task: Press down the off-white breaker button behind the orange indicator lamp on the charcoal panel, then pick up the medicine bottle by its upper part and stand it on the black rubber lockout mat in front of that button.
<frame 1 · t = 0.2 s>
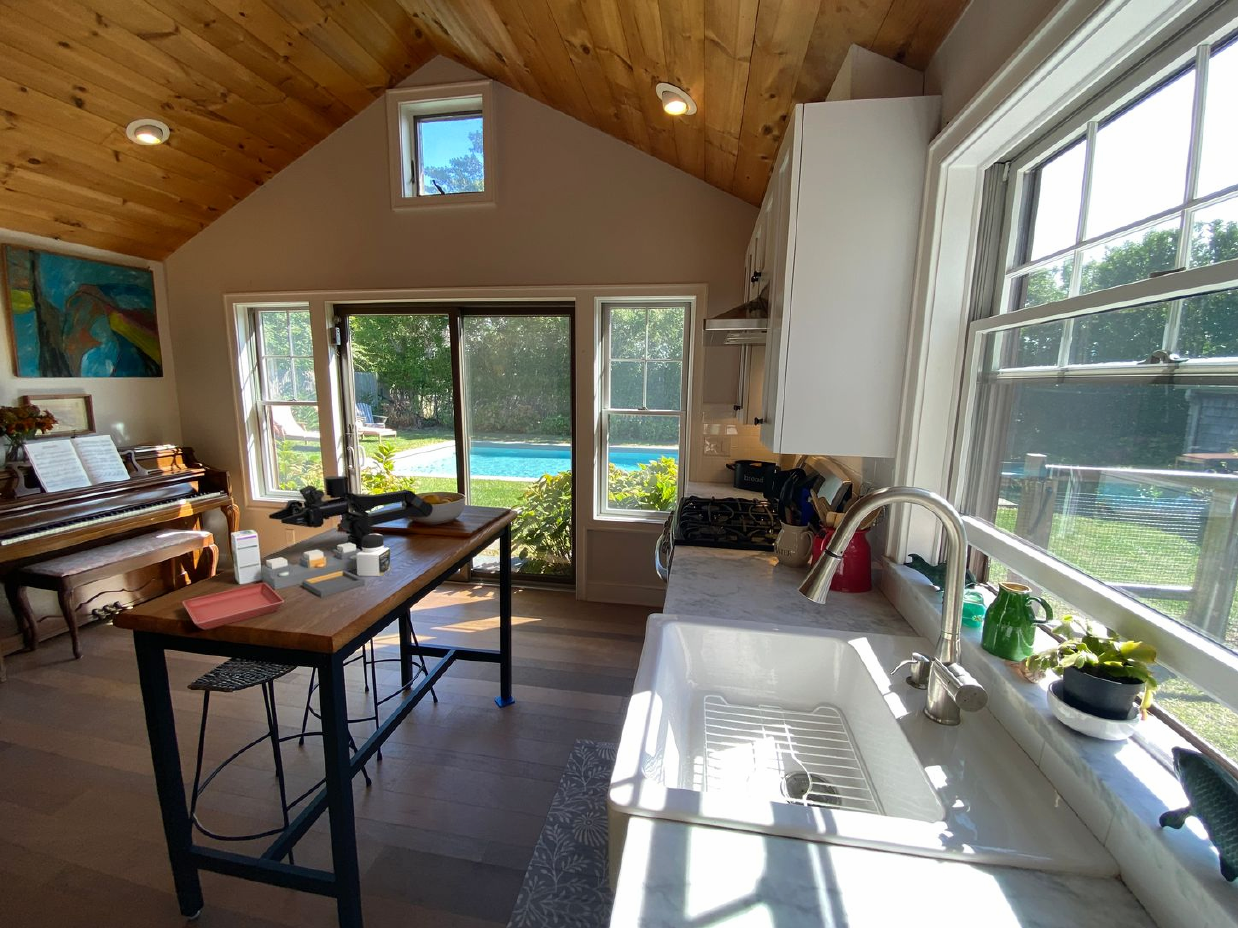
hand: (275, 519, 159), 17 cm above the table, tool horizontal, fingers open, 9 cm apart
syrup box: (248, 580, 153), on the table
breaker 1: (277, 564, 152), point 5 cm above the table, slide at 0.0 cm
breaker 2: (346, 548, 167), point 5 cm above the table, slide at 0.0 cm
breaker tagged: (313, 555, 160), point 5 cm above the table, slide at 0.0 cm
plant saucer: (234, 613, 132), on the table
breaker panel: (316, 573, 159), on the table
medicine bottle: (374, 573, 162), on the table
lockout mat: (333, 585, 151), on the table
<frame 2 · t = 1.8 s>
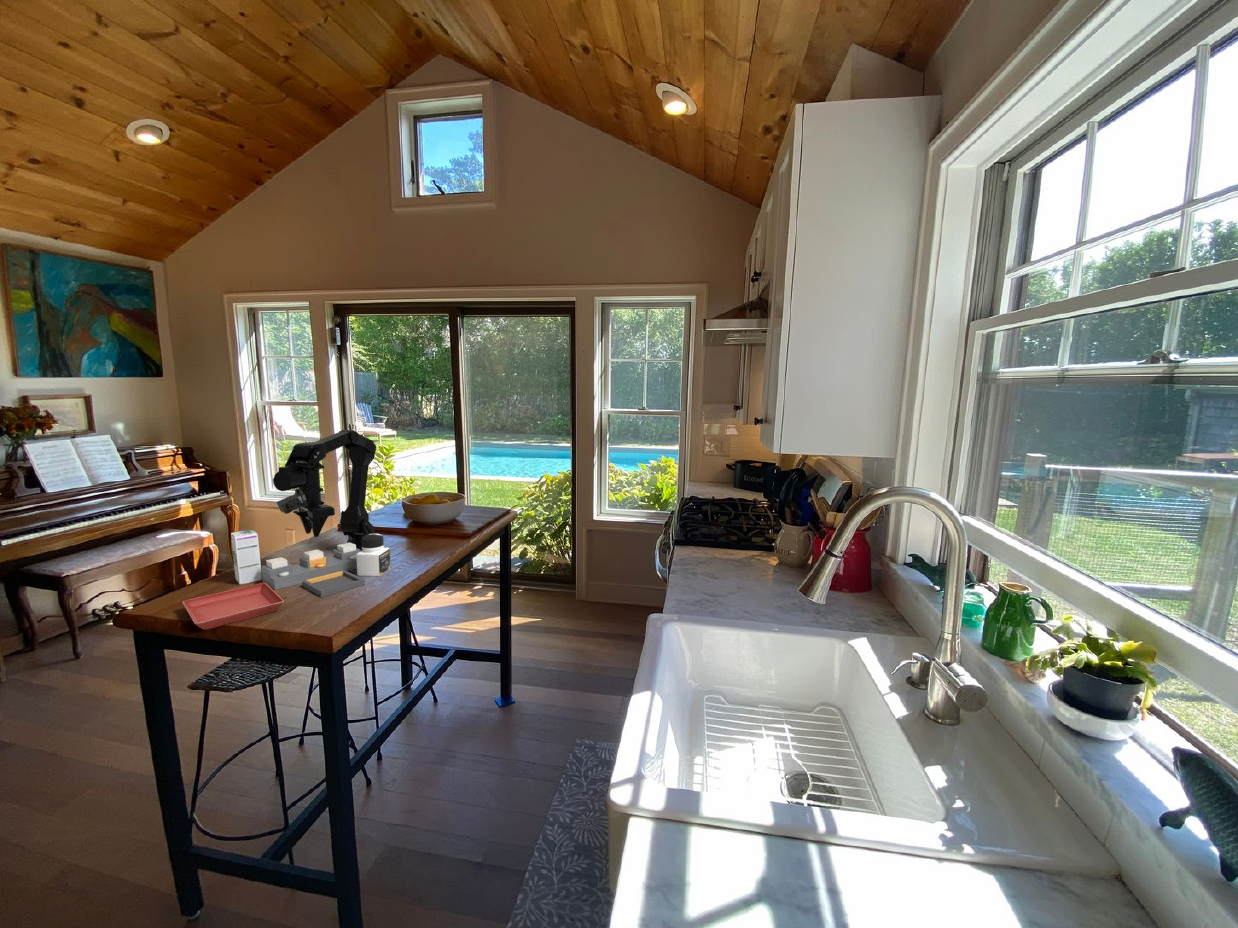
hand: (312, 535, 159), 12 cm above the table, tool pointing down, fingers open, 5 cm apart
nothing on the table moved.
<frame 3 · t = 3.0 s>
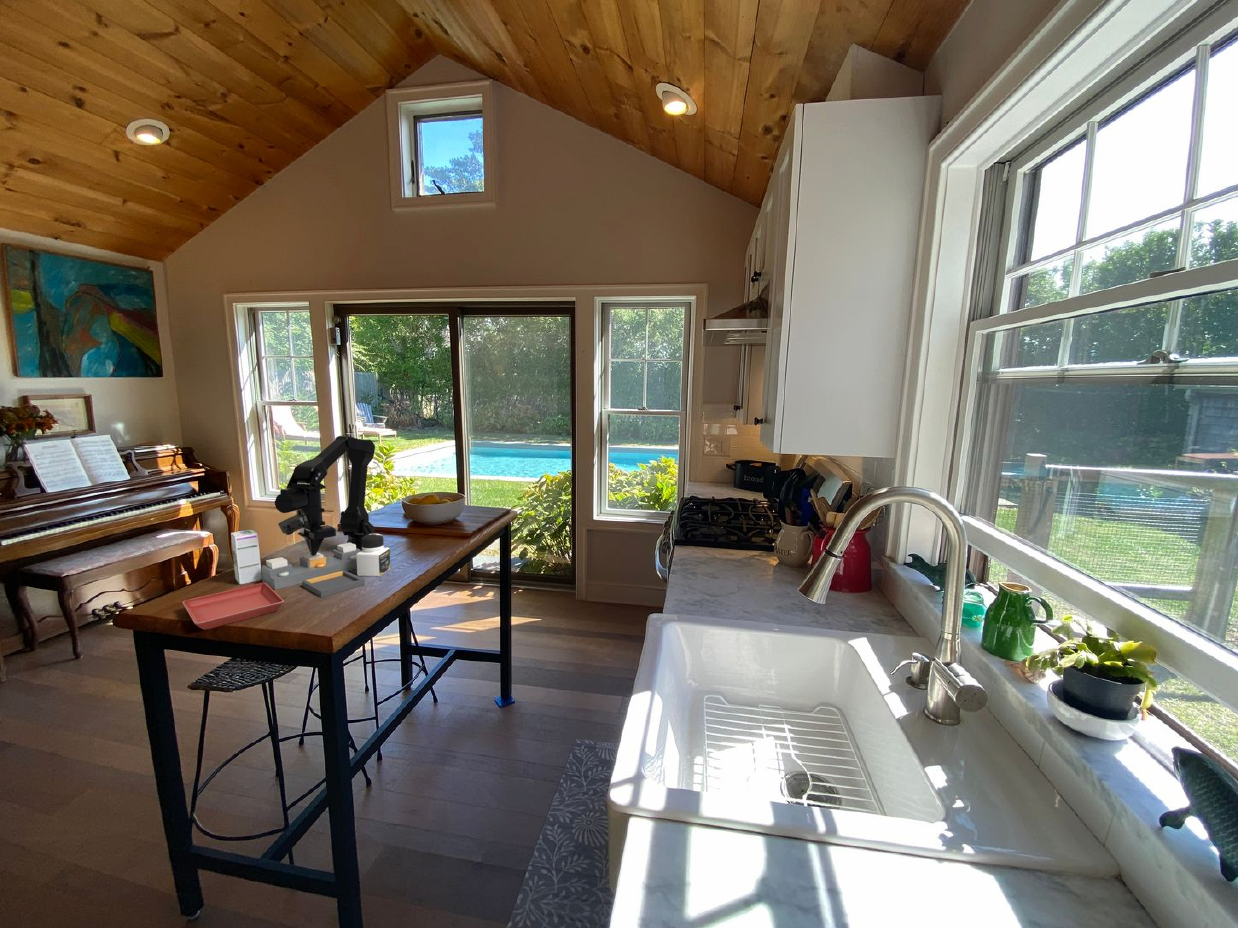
hand: (313, 555, 160), 6 cm above the table, tool pointing down, fingers closed, pressing on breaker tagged
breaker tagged: (313, 558, 160), point 4 cm above the table, slide at 1.0 cm, touching gripper
everything else where it was.
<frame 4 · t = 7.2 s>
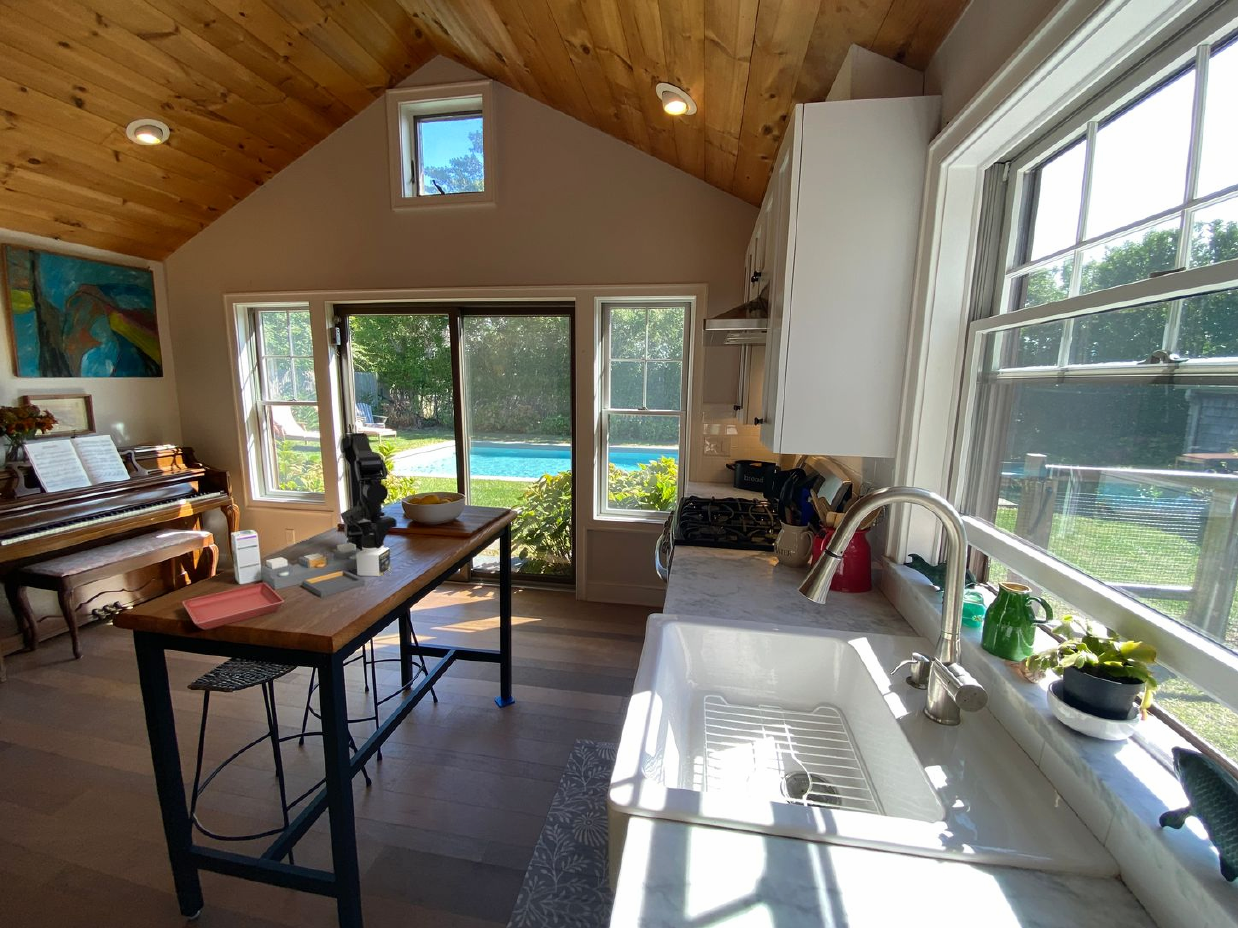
hand: (372, 546, 161), 9 cm above the table, tool pointing down, fingers closed on medicine bottle, 6 cm apart
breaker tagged: (313, 559, 160), point 4 cm above the table, slide at 1.2 cm, touching breaker panel
medicine bottle: (374, 572, 162), on the table, touching gripper
everything else where it was.
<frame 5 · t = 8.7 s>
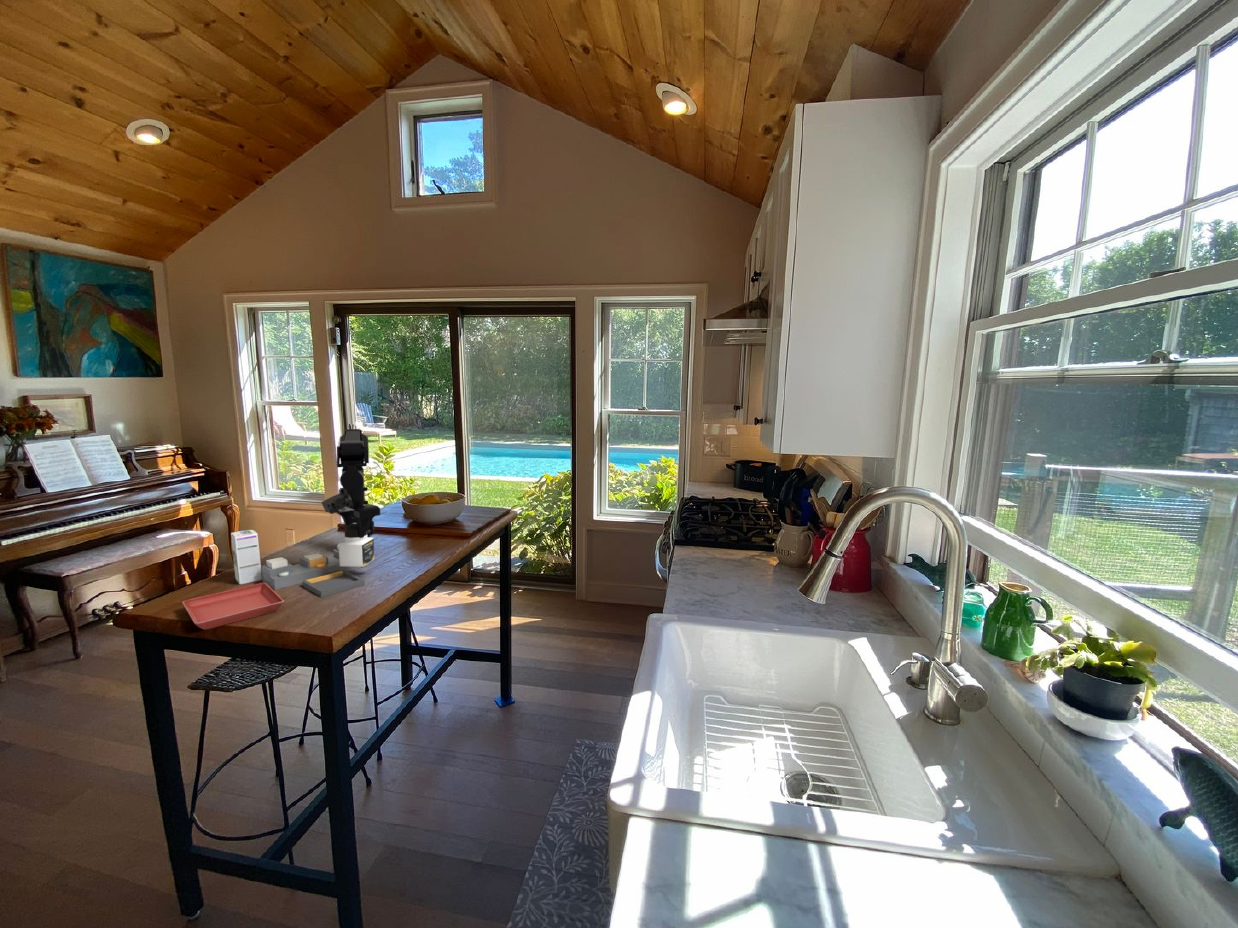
hand: (356, 535, 155), 13 cm above the table, tool pointing down, fingers closed on medicine bottle, 6 cm apart
medicine bottle: (357, 563, 156), point 4 cm above the table, touching gripper
everything else where it was.
when the fingers open (10 cm above the table, at t = 10.3 s): medicine bottle drops 1 cm, resting on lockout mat.
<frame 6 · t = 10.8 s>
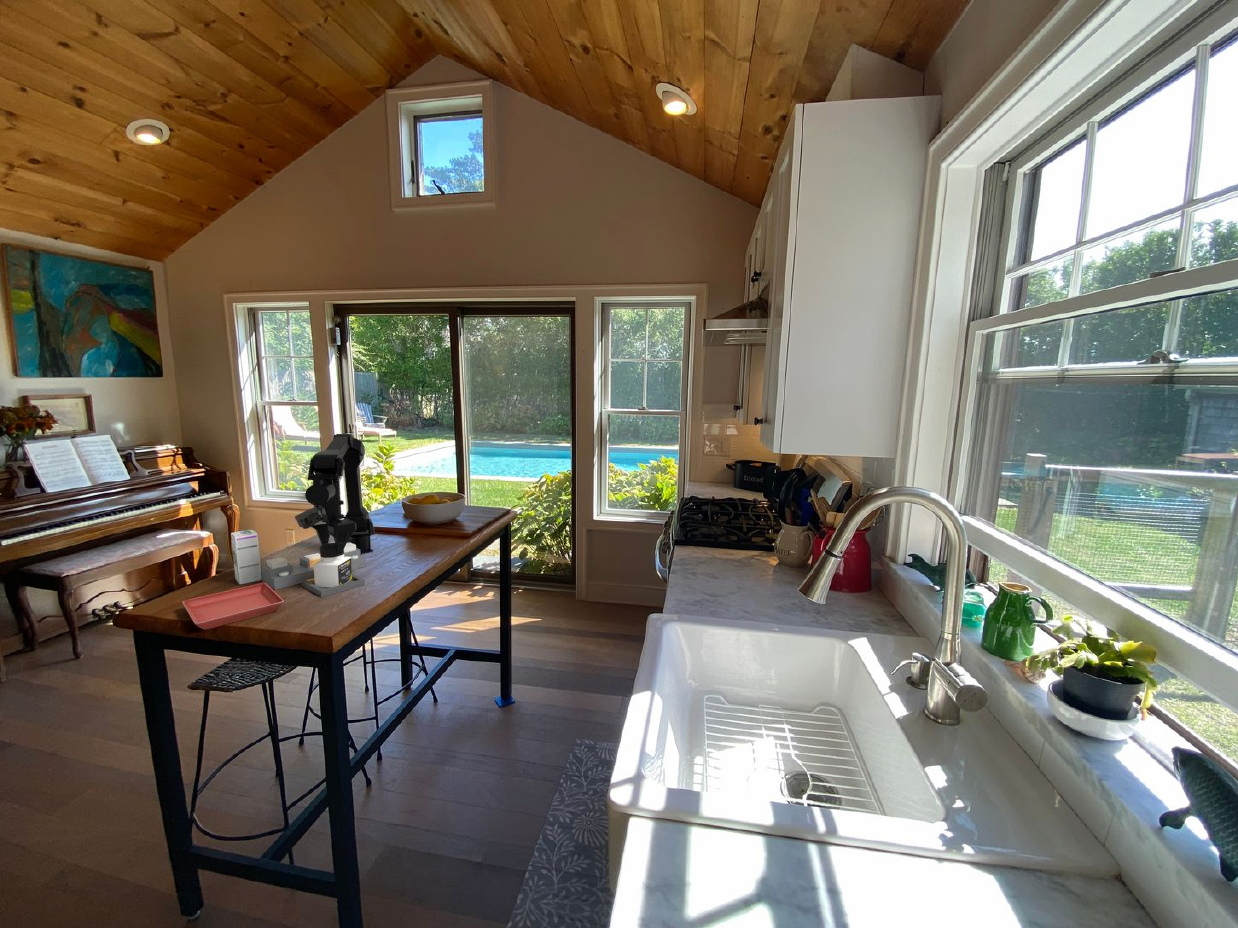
hand: (332, 550, 149), 10 cm above the table, tool pointing down, fingers open, 9 cm apart
medicine bottle: (333, 584, 151), resting on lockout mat
everything else where it was.
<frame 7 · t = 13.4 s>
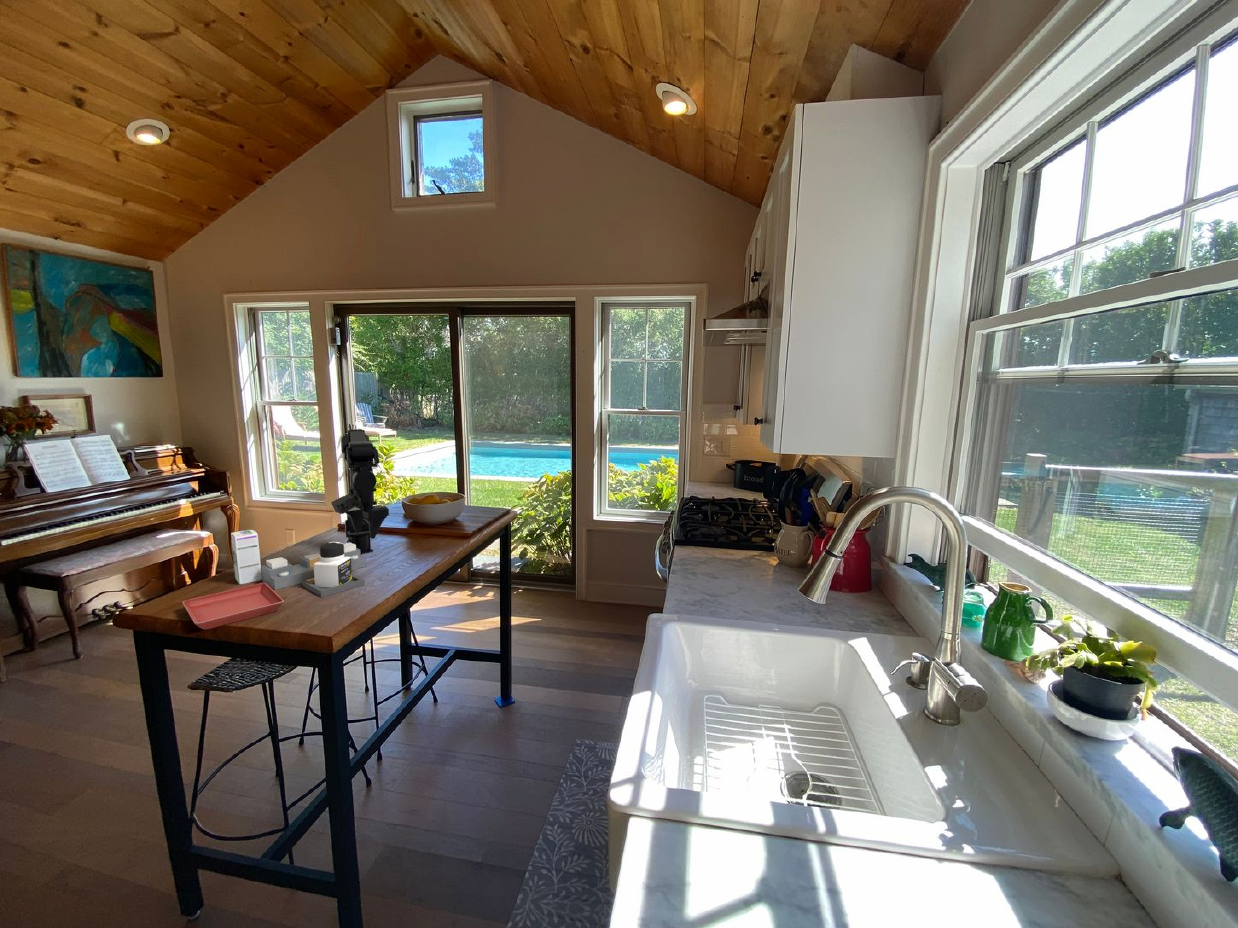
hand: (365, 535, 156), 13 cm above the table, tool pointing down, fingers open, 9 cm apart
nothing on the table moved.
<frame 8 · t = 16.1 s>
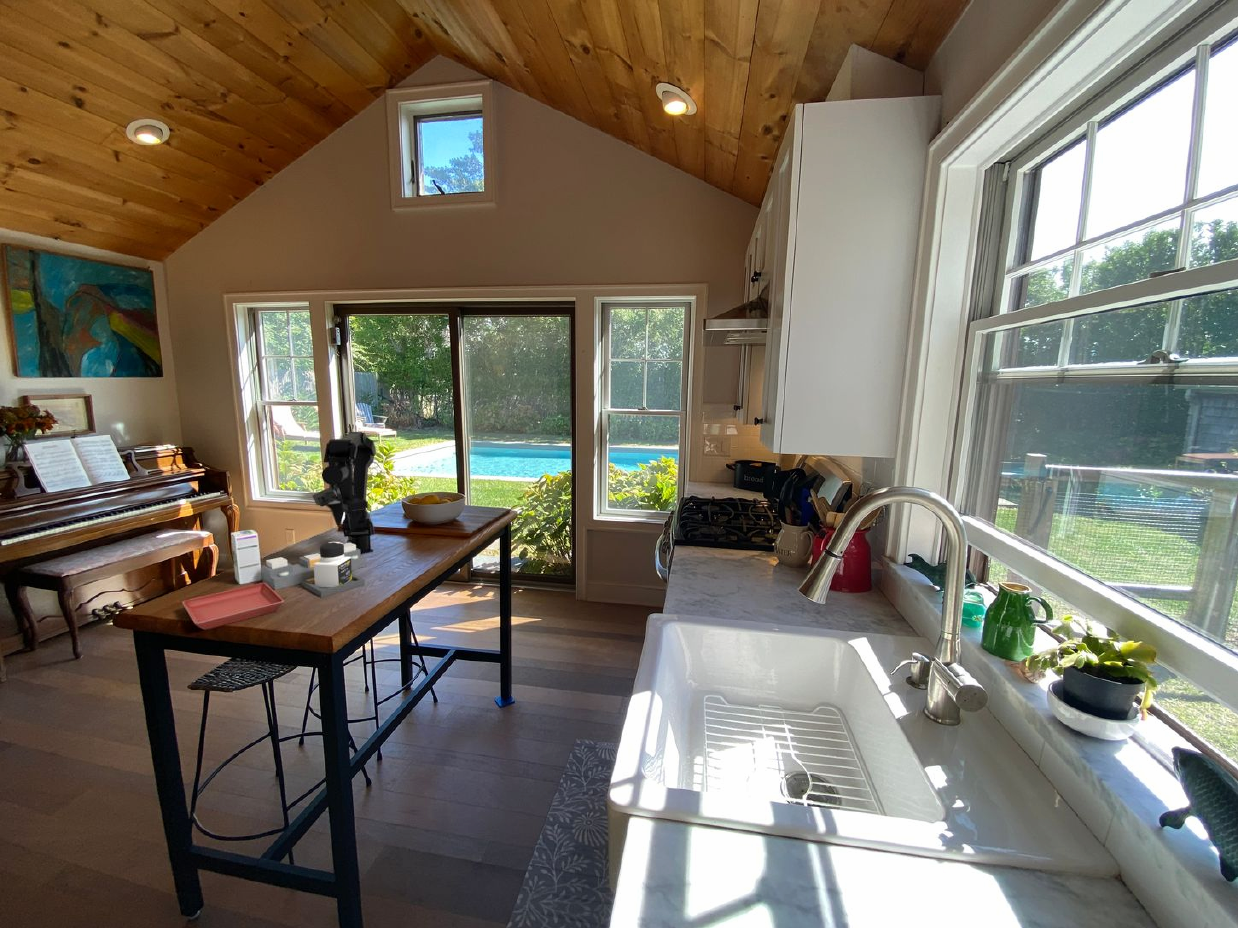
hand: (345, 527, 164), 13 cm above the table, tool pointing down, fingers open, 9 cm apart
nothing on the table moved.
at the end: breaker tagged slide at 1.2 cm; medicine bottle 0.1 cm off-centre on the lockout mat, point 0.4 cm above the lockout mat's base; medicine bottle tilted 0° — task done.
